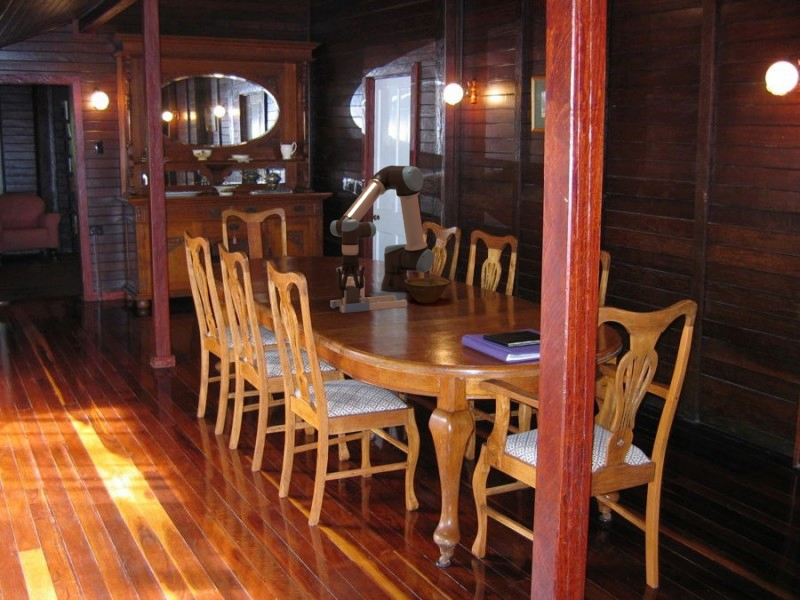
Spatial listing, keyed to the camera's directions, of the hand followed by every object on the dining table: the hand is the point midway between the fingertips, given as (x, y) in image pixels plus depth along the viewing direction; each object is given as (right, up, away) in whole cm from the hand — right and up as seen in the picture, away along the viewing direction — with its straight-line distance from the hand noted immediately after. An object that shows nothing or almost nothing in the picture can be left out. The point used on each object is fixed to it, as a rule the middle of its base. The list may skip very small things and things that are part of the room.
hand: (350, 303), depth 424 cm
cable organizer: (0, +2, +26) cm, 26 cm away
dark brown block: (0, 0, 0) cm, 0 cm away
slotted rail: (+8, -1, +4) cm, 9 cm away
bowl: (+36, +1, +18) cm, 40 cm away
